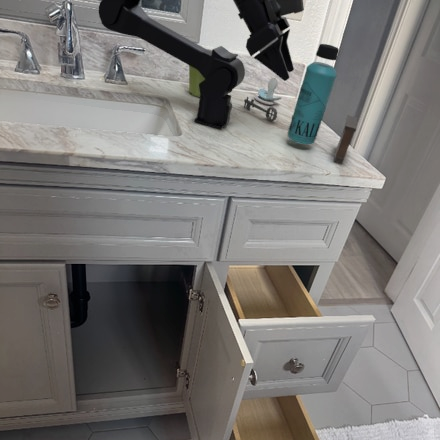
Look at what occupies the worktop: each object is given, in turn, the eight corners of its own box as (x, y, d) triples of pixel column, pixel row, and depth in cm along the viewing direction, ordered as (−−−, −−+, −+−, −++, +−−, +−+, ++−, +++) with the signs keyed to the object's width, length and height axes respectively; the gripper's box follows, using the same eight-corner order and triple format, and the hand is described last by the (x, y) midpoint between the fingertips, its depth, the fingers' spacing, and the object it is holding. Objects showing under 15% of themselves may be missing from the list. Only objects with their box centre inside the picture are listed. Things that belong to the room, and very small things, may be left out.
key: (276, 124, 103) (279, 110, 101) (273, 124, 103) (277, 110, 101) (244, 107, 110) (247, 93, 108) (241, 107, 109) (244, 93, 107)
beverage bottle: (293, 138, 98) (322, 40, 85) (318, 148, 95) (351, 49, 83) (279, 142, 93) (306, 40, 81) (304, 154, 91) (336, 50, 78)
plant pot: (186, 86, 115) (190, 50, 109) (220, 94, 115) (226, 59, 110) (179, 94, 108) (183, 57, 102) (215, 103, 108) (221, 66, 102)
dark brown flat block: (332, 162, 90) (345, 125, 85) (335, 149, 97) (347, 115, 92) (342, 164, 90) (356, 128, 85) (344, 151, 97) (357, 117, 92)
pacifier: (266, 107, 114) (282, 106, 117) (272, 82, 110) (288, 81, 113) (249, 98, 118) (264, 97, 121) (253, 74, 114) (269, 73, 117)
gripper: (281, -33, 69) (324, 58, 75) (292, -32, 83) (327, 44, 90) (226, 12, 74) (270, 93, 81) (245, 6, 89) (281, 75, 95)
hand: (289, 75), depth 86 cm, fingers open, 9 cm apart
